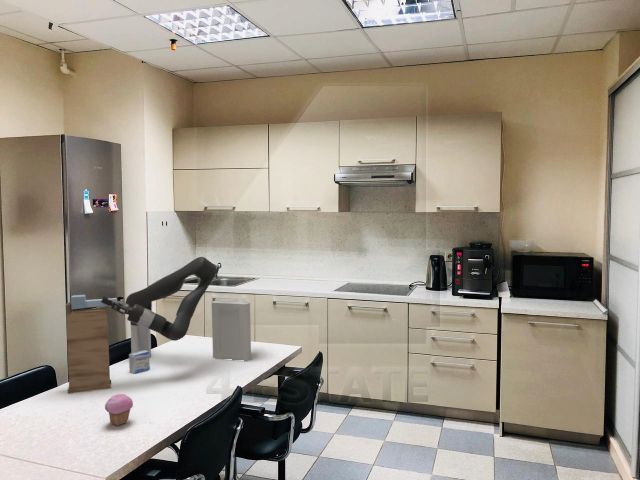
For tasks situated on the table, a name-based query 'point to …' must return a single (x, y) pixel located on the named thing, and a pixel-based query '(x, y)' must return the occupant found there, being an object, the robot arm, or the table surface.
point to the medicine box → (139, 362)
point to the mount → (87, 349)
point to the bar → (86, 302)
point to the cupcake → (119, 408)
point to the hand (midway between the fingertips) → (102, 299)
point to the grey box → (231, 329)
